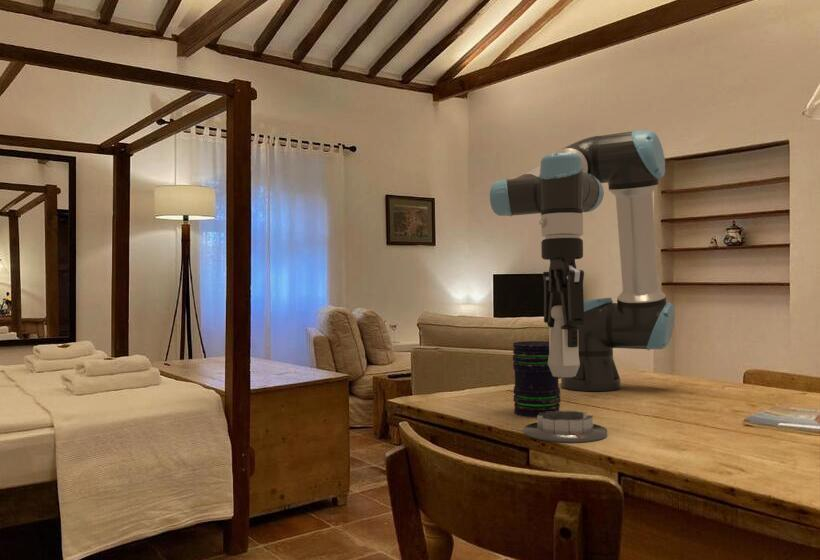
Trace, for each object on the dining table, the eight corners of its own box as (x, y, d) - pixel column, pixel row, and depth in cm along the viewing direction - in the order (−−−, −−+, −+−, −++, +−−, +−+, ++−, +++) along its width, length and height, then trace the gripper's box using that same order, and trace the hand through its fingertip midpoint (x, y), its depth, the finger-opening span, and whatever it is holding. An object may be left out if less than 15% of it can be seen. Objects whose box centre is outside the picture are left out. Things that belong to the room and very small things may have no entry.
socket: (513, 427, 134) (513, 410, 134) (586, 423, 136) (585, 406, 136) (541, 445, 119) (541, 425, 119) (622, 440, 122) (622, 421, 122)
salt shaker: (554, 373, 131) (553, 305, 132) (583, 374, 129) (582, 305, 129) (543, 376, 126) (542, 305, 127) (574, 378, 123) (573, 306, 124)
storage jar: (567, 411, 149) (565, 342, 149) (551, 419, 141) (550, 346, 141) (523, 407, 154) (522, 340, 154) (506, 415, 146) (505, 344, 146)
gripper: (525, 241, 136) (526, 359, 136) (562, 233, 118) (564, 370, 118) (561, 241, 138) (563, 357, 137) (603, 234, 119) (605, 368, 119)
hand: (563, 363), depth 128 cm, fingers closed on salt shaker, 6 cm apart
